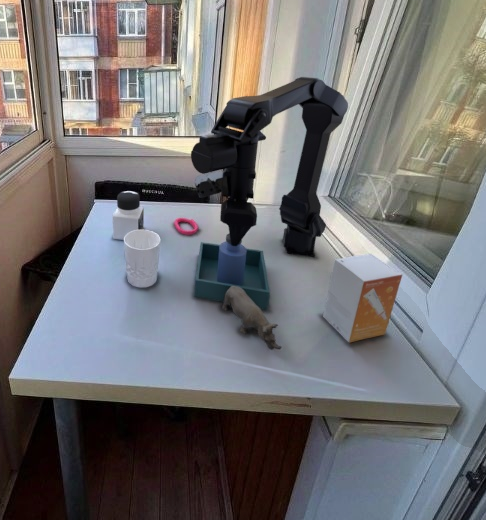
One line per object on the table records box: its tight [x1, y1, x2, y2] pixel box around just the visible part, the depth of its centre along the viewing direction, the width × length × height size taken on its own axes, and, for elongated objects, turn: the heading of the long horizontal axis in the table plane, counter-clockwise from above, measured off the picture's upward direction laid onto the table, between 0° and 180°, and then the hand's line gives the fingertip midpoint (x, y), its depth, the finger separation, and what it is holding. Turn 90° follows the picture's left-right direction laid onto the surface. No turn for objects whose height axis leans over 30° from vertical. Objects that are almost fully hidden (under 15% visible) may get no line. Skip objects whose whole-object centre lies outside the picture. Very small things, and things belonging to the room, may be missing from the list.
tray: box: [193, 241, 271, 311], centre depth 73 cm, size 14×14×4 cm
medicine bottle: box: [112, 190, 145, 241], centre depth 90 cm, size 7×7×12 cm
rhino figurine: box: [221, 286, 283, 351], centre depth 59 cm, size 4×14×6 cm, turn 22°
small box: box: [322, 253, 403, 344], centre depth 59 cm, size 8×6×13 cm
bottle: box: [217, 232, 247, 286], centre depth 72 cm, size 6×6×11 cm
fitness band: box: [174, 217, 199, 236], centre depth 94 cm, size 8×6×2 cm
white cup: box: [123, 229, 162, 288], centre depth 73 cm, size 8×8×10 cm
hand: (233, 233), depth 70 cm, fingers open, 9 cm apart
